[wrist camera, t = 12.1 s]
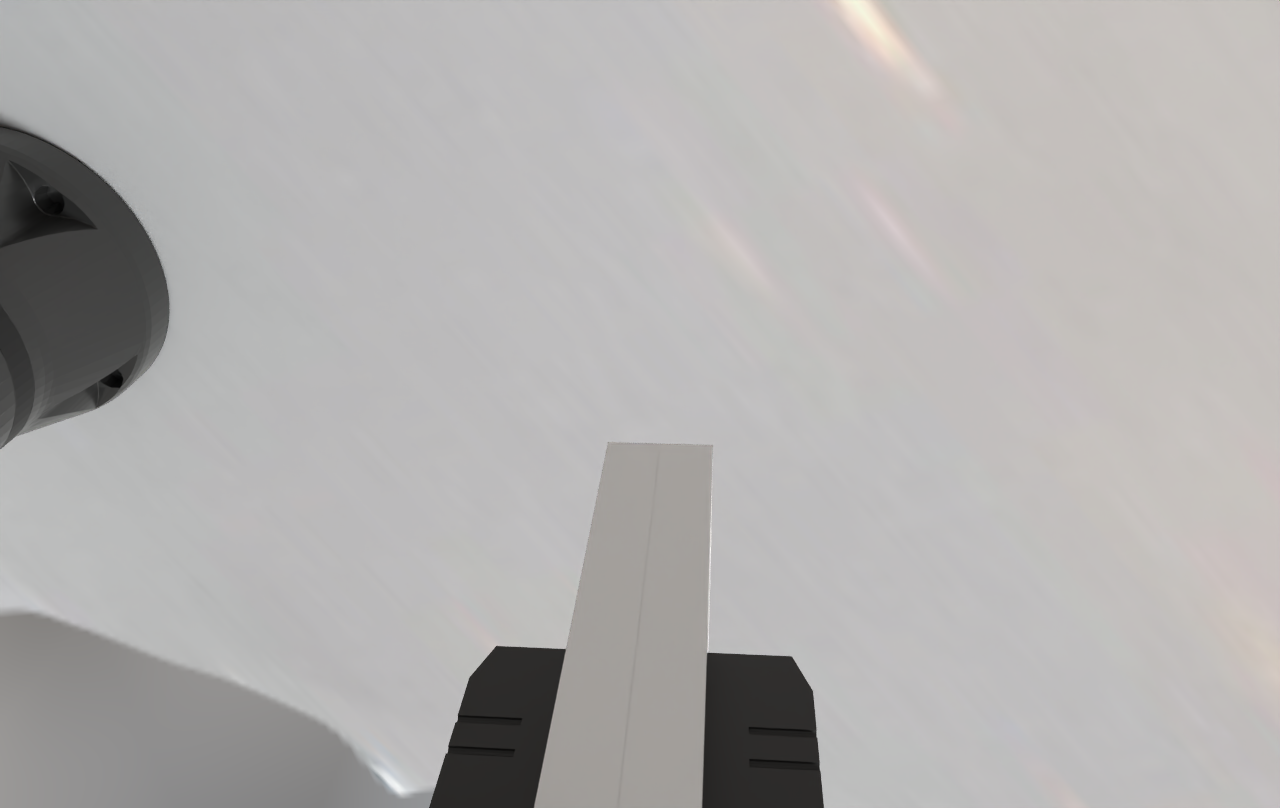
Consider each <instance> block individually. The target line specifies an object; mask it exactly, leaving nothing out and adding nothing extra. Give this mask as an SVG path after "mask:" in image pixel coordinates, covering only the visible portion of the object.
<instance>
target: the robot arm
mask: <svg viewBox="0 0 1280 808" xmlns="http://www.w3.org/2000/svg"><path fill="white" fill-rule="evenodd" d="M168 323H169V297H168V290H167V284H166V280H165V276H164V272H163V269H162V266H161V263H160V261H159V258H158V256H157V253H156V251H155V249H154V247H153V245H152V243H151V241H150V239H149V237H148V236H147V234H146V232H145V230H144V229H143V227H142V226H141V224H140V223H139V221H138V220H137V218H136V217H135V216H134V214H133V213H132V212H131V210H130V209H129V208H128V207H127V205H126V204H125V203H124V202H123V201H122V200H121V198H120V197H119V196H118V195H117V194H116V193H115V192H114V191H113V190H112V189H111V188H110V187H109V186H108V185H107V184H106V183H105V182H104V181H103V180H101V179H100V178H99V177H98V176H97V175H96V174H95V173H93V172H92V171H91V170H89V169H88V168H87V167H86V166H84V165H83V164H81V163H80V162H79V161H77V160H76V159H74V158H73V157H71V156H69V155H68V154H66V153H65V152H63V151H61V150H59V149H58V148H56V147H54V146H52V145H50V144H48V143H46V142H44V141H42V140H39V139H37V138H34V137H32V136H29V135H27V134H24V133H21V132H18V131H15V130H11V129H7V128H3V127H0V449H1V448H2V447H4V446H5V445H6V444H7V443H8V442H10V441H11V440H12V439H13V438H15V437H16V436H18V435H21V434H24V433H27V432H30V431H33V430H36V429H39V428H42V427H45V426H48V425H51V424H54V423H57V422H60V421H63V420H66V419H69V418H72V417H75V416H78V415H81V414H83V413H86V412H89V411H92V410H95V409H97V408H99V407H101V406H103V405H105V404H107V403H108V402H110V401H112V400H113V399H115V398H116V397H118V396H119V395H120V394H122V393H123V392H124V391H125V390H126V389H127V388H128V387H129V386H131V385H132V384H133V383H134V382H135V381H136V380H137V379H138V378H139V377H140V376H142V375H143V374H144V373H145V372H146V371H147V370H148V368H149V367H150V366H151V365H152V363H153V362H154V361H155V359H156V358H157V356H158V354H159V352H160V350H161V348H162V346H163V343H164V340H165V337H166V333H167V329H168ZM712 465H713V445H691V444H653V443H615V442H608V445H607V450H606V455H605V460H604V464H603V469H602V474H601V479H600V484H599V489H598V494H597V499H596V504H595V509H594V514H593V519H592V524H591V529H590V534H589V539H588V543H587V548H586V553H585V558H584V563H583V568H582V573H581V578H580V583H579V588H578V593H577V598H576V603H575V608H574V613H573V618H572V623H571V627H570V632H569V637H568V642H567V647H566V649H550V648H527V647H504V646H496V647H495V648H494V650H493V651H492V652H491V653H490V654H489V655H488V657H487V658H486V659H485V660H484V661H483V662H482V664H481V665H480V666H479V667H478V668H477V669H476V671H475V672H474V673H473V674H472V675H471V676H470V678H469V681H468V684H467V687H466V691H465V694H464V697H463V700H462V703H461V707H460V710H459V713H458V721H457V722H456V723H455V726H454V729H453V733H452V736H451V739H450V742H449V745H448V747H449V749H448V754H446V755H445V758H444V762H443V765H442V768H441V771H440V775H439V778H438V781H437V784H436V787H435V791H434V794H433V797H432V800H431V804H430V807H429V808H824V805H823V794H822V783H821V773H820V769H819V763H820V762H819V751H818V741H817V737H816V720H815V709H814V698H813V691H812V689H811V687H810V686H809V684H808V682H807V681H806V679H805V677H804V676H803V674H802V672H801V671H800V669H799V668H798V666H797V664H796V663H795V661H794V659H793V658H792V657H791V656H768V655H745V654H722V653H708V643H709V608H710V565H711V515H712Z"/></svg>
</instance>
